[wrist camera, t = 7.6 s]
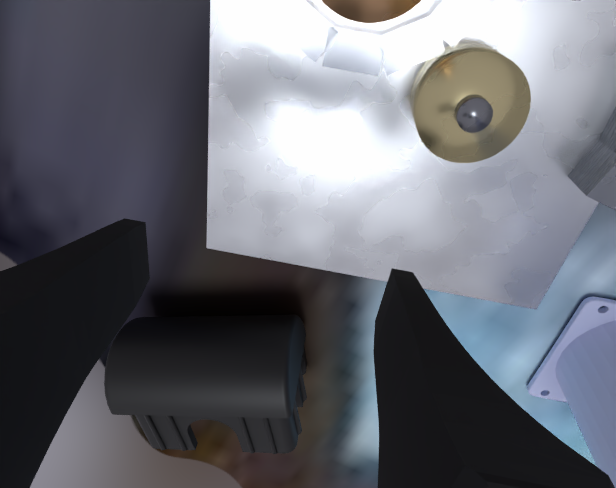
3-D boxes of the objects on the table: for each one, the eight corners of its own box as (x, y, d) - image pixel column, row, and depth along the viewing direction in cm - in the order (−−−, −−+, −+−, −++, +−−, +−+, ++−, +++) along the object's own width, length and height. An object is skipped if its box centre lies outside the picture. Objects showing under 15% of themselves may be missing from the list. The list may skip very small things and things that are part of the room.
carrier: (813, -208, 13) (968, -269, 10) (530, 297, 24) (557, 351, 21) (225, -302, 13) (177, -392, 10) (212, 238, 24) (187, 281, 21)
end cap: (301, 285, 25) (281, 376, 20) (315, 368, 29) (302, 465, 24) (144, 289, 27) (86, 375, 22) (177, 368, 31) (134, 458, 25)
